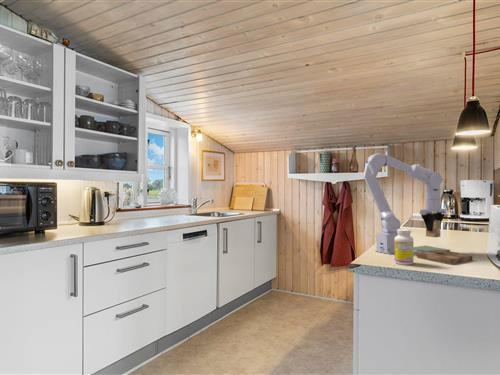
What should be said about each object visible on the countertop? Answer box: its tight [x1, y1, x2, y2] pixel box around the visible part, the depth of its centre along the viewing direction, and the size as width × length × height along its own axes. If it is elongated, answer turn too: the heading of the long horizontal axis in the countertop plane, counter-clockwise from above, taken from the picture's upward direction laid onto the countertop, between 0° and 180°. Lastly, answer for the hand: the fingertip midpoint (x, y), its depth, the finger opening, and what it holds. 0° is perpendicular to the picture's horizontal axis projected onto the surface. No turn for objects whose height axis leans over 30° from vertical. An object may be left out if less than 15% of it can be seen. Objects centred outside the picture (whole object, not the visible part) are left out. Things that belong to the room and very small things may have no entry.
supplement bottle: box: [394, 228, 415, 266], centre depth 133 cm, size 7×7×13 cm
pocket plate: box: [416, 250, 473, 265], centre depth 140 cm, size 14×14×2 cm
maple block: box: [425, 220, 441, 238], centre depth 153 cm, size 4×4×7 cm
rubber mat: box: [413, 245, 451, 252], centre depth 159 cm, size 12×12×1 cm
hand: (433, 230), depth 154 cm, fingers closed on maple block, 4 cm apart
